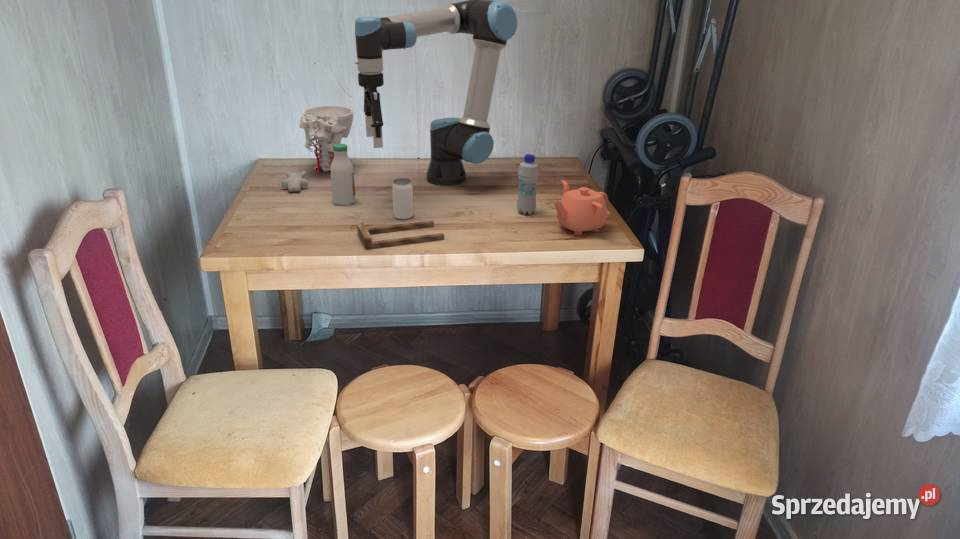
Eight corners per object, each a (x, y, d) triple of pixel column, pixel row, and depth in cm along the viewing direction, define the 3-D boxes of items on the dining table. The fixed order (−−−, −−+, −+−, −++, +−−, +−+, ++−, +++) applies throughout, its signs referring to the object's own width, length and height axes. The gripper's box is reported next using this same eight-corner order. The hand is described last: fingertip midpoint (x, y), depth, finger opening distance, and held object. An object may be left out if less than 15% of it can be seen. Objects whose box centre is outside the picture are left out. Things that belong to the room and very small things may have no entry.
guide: (432, 224, 204) (432, 214, 203) (444, 239, 194) (444, 228, 193) (357, 233, 196) (356, 223, 195) (365, 249, 186) (364, 238, 185)
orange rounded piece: (550, 234, 199) (554, 193, 193) (558, 215, 214) (561, 176, 208) (603, 241, 196) (608, 199, 190) (607, 221, 210) (611, 181, 204)
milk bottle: (350, 206, 217) (346, 149, 208) (329, 204, 218) (324, 147, 209) (359, 199, 224) (355, 142, 215) (338, 197, 225) (333, 141, 216)
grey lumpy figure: (279, 183, 225) (282, 166, 237) (281, 196, 228) (284, 178, 240) (307, 182, 226) (308, 165, 239) (308, 195, 229) (310, 177, 242)
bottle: (538, 210, 218) (542, 152, 209) (533, 217, 212) (536, 158, 203) (519, 207, 219) (522, 150, 211) (513, 214, 214) (516, 156, 205)
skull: (313, 162, 261) (308, 105, 251) (360, 162, 262) (356, 105, 252) (300, 181, 239) (293, 120, 229) (351, 182, 240) (346, 121, 230)
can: (393, 212, 213) (392, 178, 208) (413, 212, 213) (412, 178, 208) (393, 220, 207) (391, 184, 202) (413, 219, 208) (412, 184, 202)
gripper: (351, 65, 202) (356, 132, 211) (364, 80, 181) (369, 153, 190) (375, 65, 204) (379, 131, 214) (391, 79, 183) (394, 151, 193)
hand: (374, 141), depth 202 cm, fingers open, 13 cm apart
